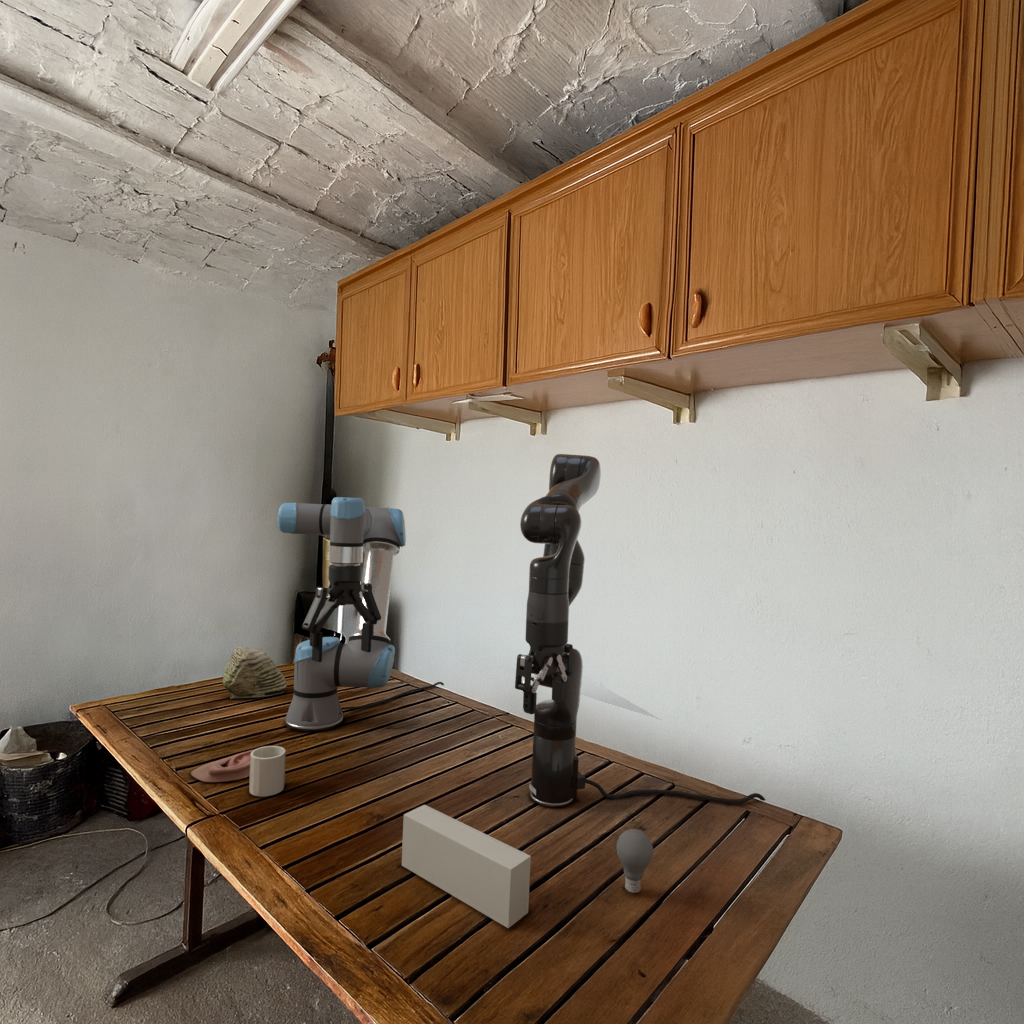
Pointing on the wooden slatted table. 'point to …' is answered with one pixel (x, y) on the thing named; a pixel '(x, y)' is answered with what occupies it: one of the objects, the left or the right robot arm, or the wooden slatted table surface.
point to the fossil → (252, 674)
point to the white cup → (267, 770)
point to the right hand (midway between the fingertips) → (543, 707)
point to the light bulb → (634, 857)
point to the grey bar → (467, 864)
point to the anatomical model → (225, 769)
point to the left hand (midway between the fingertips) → (342, 656)
